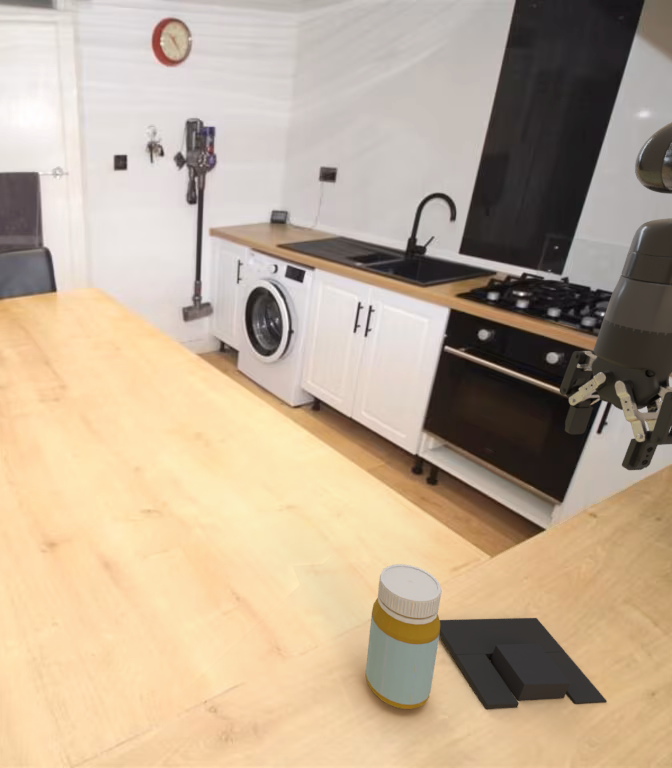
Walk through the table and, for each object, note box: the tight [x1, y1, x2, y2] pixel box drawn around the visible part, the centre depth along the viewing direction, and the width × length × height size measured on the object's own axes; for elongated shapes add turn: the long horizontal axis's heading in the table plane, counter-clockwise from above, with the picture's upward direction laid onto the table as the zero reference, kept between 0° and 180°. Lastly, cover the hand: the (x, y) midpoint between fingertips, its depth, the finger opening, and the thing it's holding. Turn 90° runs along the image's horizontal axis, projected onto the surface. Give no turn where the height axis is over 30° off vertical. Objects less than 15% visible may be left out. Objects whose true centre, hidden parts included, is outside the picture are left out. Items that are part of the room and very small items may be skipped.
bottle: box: [365, 563, 442, 710], centre depth 62 cm, size 7×7×15 cm
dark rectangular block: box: [489, 644, 570, 702], centre depth 64 cm, size 5×5×3 cm
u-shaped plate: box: [439, 617, 608, 710], centre depth 67 cm, size 14×12×1 cm
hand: (601, 449), depth 65 cm, fingers open, 8 cm apart
